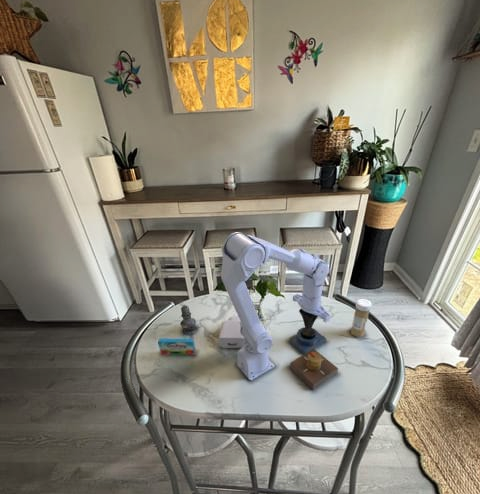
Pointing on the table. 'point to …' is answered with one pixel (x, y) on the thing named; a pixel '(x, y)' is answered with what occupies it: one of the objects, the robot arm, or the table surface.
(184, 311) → the grey stone statuette
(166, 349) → the blue printed cardboard box
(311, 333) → the button
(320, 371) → the brown square block
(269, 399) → the table surface
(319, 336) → the button box
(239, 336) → the charger
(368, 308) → the sprinkles bottle
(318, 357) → the dial
